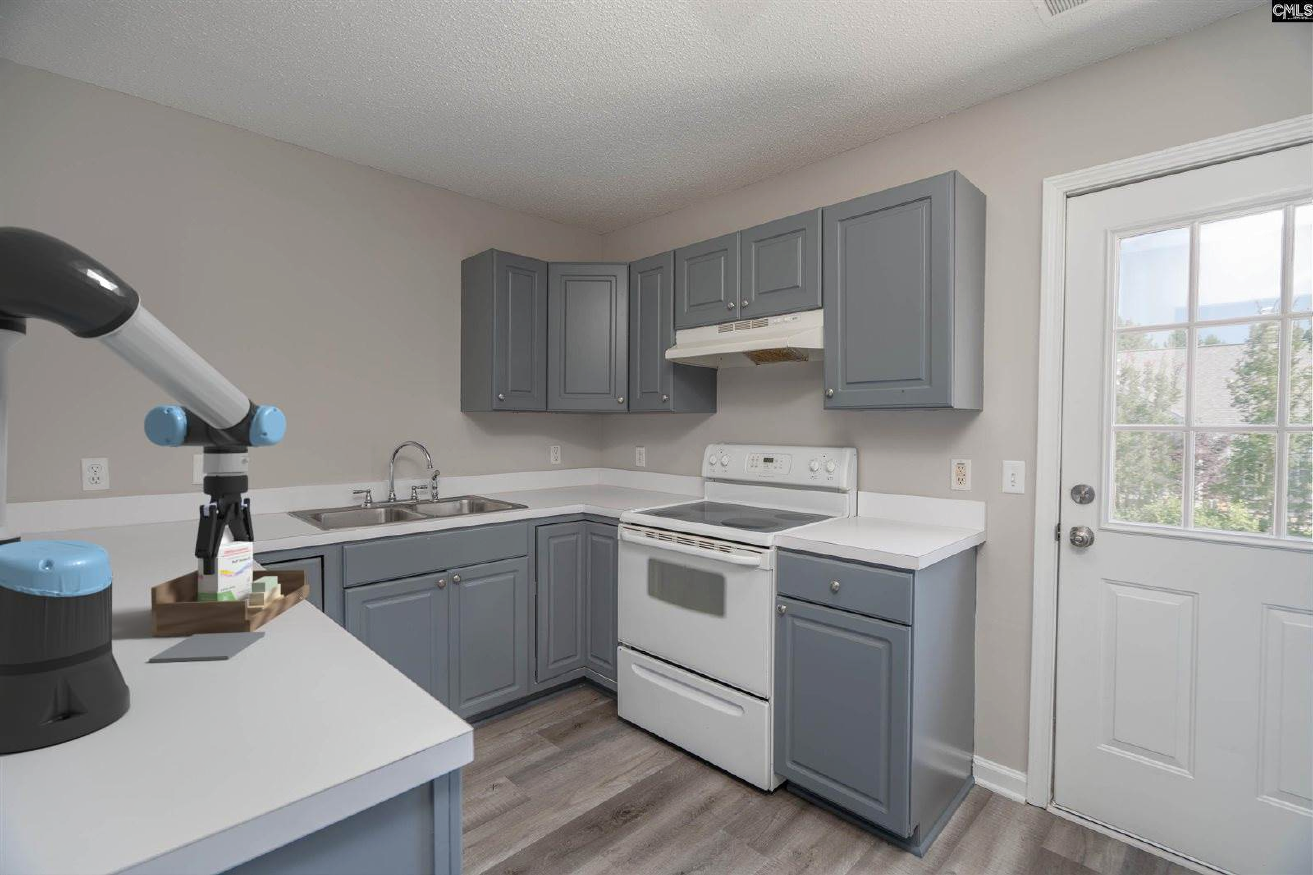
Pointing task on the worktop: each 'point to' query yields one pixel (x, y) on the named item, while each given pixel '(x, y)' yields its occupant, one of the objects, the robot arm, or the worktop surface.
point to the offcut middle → (264, 596)
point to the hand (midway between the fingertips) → (226, 584)
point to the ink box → (230, 571)
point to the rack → (218, 606)
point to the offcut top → (264, 584)
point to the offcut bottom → (260, 607)
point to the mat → (208, 647)
